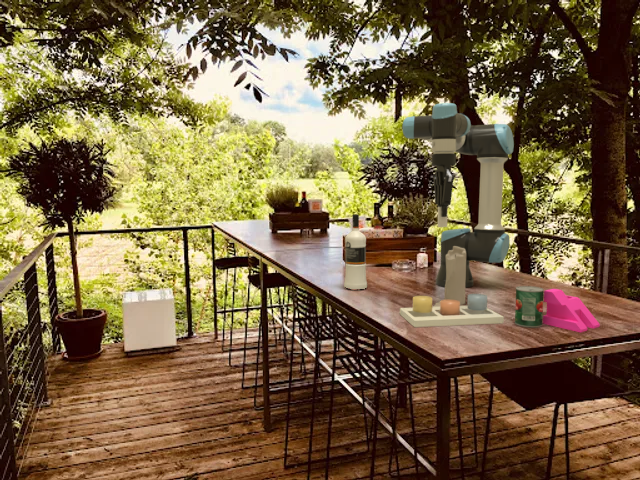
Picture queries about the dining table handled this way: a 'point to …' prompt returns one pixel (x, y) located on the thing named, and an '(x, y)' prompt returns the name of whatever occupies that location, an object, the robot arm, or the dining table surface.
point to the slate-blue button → (477, 302)
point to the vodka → (355, 257)
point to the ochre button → (422, 304)
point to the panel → (451, 317)
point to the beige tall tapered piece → (455, 275)
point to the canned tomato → (529, 306)
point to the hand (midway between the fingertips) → (442, 226)
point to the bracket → (567, 312)
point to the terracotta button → (449, 307)
